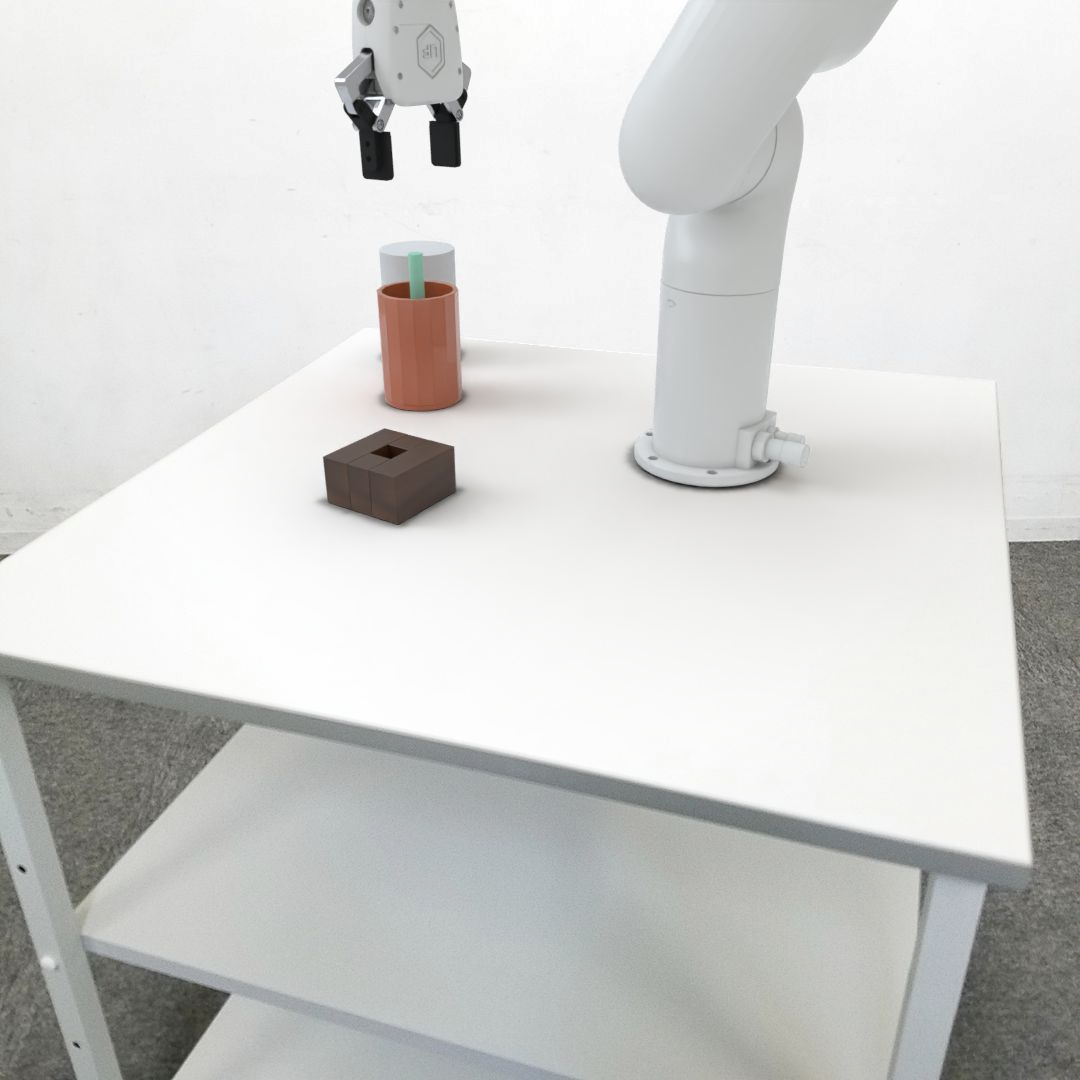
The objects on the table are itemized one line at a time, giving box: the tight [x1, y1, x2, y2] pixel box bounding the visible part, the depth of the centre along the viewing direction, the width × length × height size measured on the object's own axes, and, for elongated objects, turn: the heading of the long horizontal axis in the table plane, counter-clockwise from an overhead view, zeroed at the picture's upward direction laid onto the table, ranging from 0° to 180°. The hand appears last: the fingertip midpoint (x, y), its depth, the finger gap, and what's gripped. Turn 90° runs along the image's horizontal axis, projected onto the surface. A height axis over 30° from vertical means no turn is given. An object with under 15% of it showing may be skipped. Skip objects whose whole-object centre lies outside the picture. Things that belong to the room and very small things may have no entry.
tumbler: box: [376, 280, 463, 412], centre depth 103 cm, size 8×8×11 cm
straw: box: [408, 252, 425, 299], centre depth 102 cm, size 1×1×14 cm
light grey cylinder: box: [378, 240, 457, 287], centre depth 115 cm, size 8×8×12 cm
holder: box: [322, 427, 457, 525], centre depth 83 cm, size 7×7×4 cm
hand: (413, 172), depth 95 cm, fingers open, 9 cm apart
